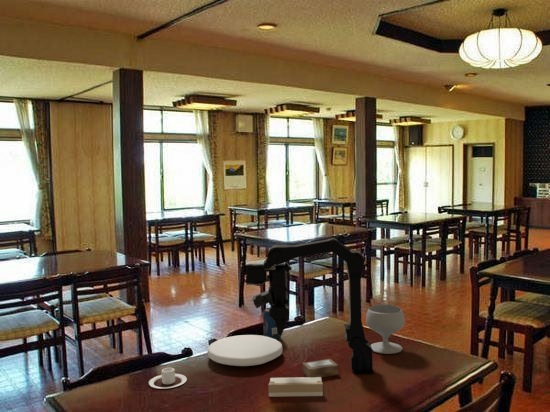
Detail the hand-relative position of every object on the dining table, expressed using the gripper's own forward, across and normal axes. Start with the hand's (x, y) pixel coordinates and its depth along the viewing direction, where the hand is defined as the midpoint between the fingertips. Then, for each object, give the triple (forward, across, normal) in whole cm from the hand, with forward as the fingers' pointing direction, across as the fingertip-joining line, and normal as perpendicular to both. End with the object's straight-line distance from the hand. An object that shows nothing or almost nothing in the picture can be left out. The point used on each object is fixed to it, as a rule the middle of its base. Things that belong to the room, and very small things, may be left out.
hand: (280, 330), depth 174 cm
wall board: (+14, +14, +4) cm, 20 cm away
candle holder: (+14, +6, -37) cm, 40 cm away
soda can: (+14, -33, -3) cm, 36 cm away
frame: (+14, +2, +12) cm, 19 cm away
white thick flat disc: (+14, -15, -13) cm, 24 cm away
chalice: (+15, -19, +38) cm, 45 cm away
